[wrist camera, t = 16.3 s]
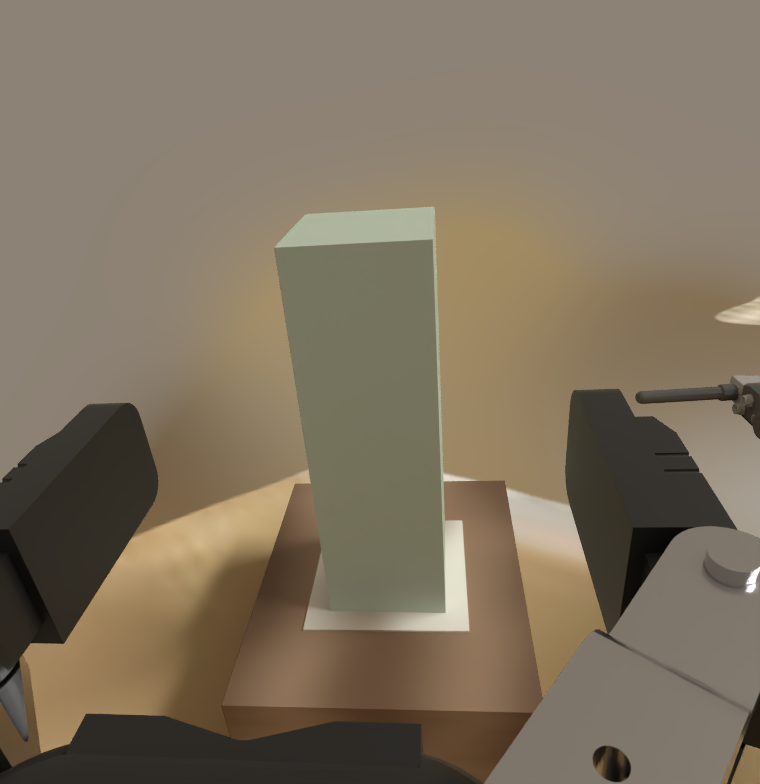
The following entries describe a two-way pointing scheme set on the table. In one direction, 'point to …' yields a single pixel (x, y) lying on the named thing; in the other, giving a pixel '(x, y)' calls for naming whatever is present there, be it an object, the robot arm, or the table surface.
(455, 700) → the plinth
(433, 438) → the pillar
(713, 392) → the walkie-talkie
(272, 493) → the table surface
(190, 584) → the table surface
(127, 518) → the robot arm
